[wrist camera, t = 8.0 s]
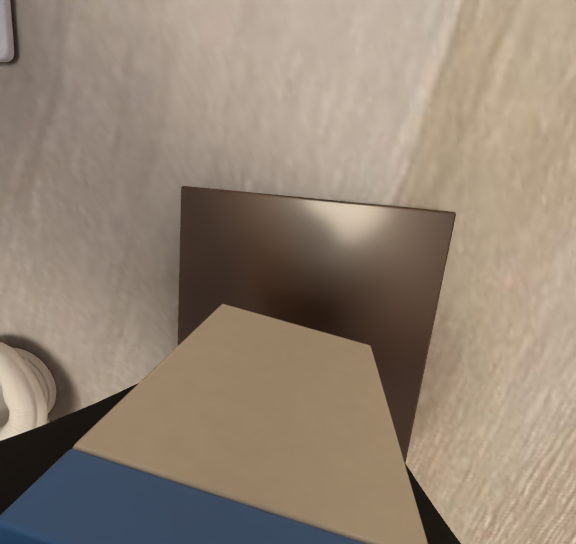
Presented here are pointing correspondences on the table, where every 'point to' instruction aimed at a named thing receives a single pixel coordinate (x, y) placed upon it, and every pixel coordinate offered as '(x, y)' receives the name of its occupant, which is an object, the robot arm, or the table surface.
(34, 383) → the figurine
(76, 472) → the carton
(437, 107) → the table surface
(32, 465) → the robot arm
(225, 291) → the board
